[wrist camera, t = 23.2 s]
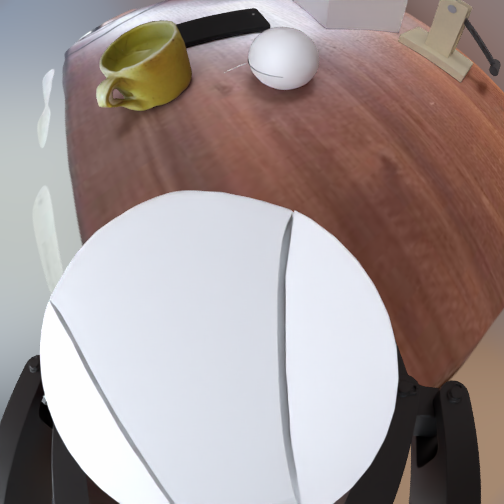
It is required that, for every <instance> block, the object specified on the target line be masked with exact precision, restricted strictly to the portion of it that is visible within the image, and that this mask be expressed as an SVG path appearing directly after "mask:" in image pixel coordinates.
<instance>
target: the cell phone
mask: <svg viewBox="0 0 504 504" xmlns="http://www.w3.org/2000/svg"><path fill="white" fill-rule="evenodd" d="M176 26H177V28H178V30H179V32H180V34H181V36H182V39H183V40H184V43H185V46H186V47H187V46H191V45H195V44H198V43H202V42H206V41H210V40H215V39H219V38H224V37H229V36H234V35H239V34H245V33H251V32H257V31H265V30H268V29H270V24H269V23H268V21H267V20H266V19H265V18H264V17H263V16H262V15H261V13H260V12H259V11H258V10H257V9H255V8H252V9H244V10H238V11H232V12H227V13H222V14H217V15H212V16H208V17H203V18H199V19H195V20H191V21H188V22H184V23H180V24H177V25H176Z"/></svg>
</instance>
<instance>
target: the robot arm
mask: <svg viewBox="0 0 504 504" xmlns="http://www.w3.org/2000/svg"><path fill="white" fill-rule="evenodd" d="M395 342H396V341H395ZM396 344H397V343H396ZM396 346H397V345H396ZM397 358H398V376H399V379H398V388H397V397H396V404H395V410H394V413H393V416H392V420H391V423H390V426H389V429H388V432H387V435H386V437H385V439H384V441H383V443H382V445H381V447H380V449H379V451H378V453H377V454H376V456H375V458H374V460H373V461H372V463H371V465H370V466H369V467H368V469H367V470H366V471H365V472H364V474H363V475H362V476H361V477H360V479H359V480H358V481H357V482H356V483H355V485H354V486H353V487H352V488H351V489H350V490H349V491H348V492H346V493H345V494H344V495H343V496H342V497H341V498H339V499H338V500H337V501H336V502H335V503H333V504H393V502H394V499H395V496H396V494H397V491H398V488H399V484H400V482H401V478H402V475H403V471H404V468H405V465H406V461H407V458H408V453H409V449H410V445H411V481H410V482H411V483H410V497H409V504H481V479H480V463H479V452H478V443H477V436H476V429H475V423H474V417H473V412H472V407H471V402H470V397H469V393H468V391H467V388H466V387H465V386H464V385H463V384H462V383H460V382H458V381H448V382H446V383H444V384H443V385H442V386H441V388H432V387H425V386H421V385H419V384H418V382H417V381H416V380H415V379H414V378H413V377H411V376H409V375H408V373H407V371H406V368H405V365H404V363H403V360H402V357H401V354H400V351H399V349H398V346H397ZM43 396H44V397H45V393H44V388H43V384H42V376H41V365H40V355H36V356H34V357H32V358H31V359H29V361H28V362H27V363H26V365H25V367H24V369H23V371H22V373H21V375H20V377H19V380H18V381H17V384H16V386H15V388H14V390H13V393H12V395H11V397H10V400H9V402H8V405H7V407H6V410H5V412H4V415H3V417H2V420H1V423H0V504H52V497H53V502H54V504H120V503H118V502H117V501H116V500H114V499H113V498H112V497H110V496H109V495H108V494H107V493H105V492H104V491H103V490H102V489H101V488H100V487H99V486H98V485H97V484H96V483H95V482H94V481H93V480H92V479H91V478H90V477H89V476H88V475H87V474H86V473H85V472H84V471H83V469H82V468H81V467H80V466H79V464H78V463H77V462H76V460H75V459H74V457H73V456H72V455H71V453H70V452H69V450H68V449H67V447H66V445H65V443H64V442H63V440H62V438H61V436H60V434H59V432H58V430H57V429H56V426H55V424H54V421H53V419H52V416H51V413H50V411H49V408H48V405H47V401H46V403H45V404H43V402H42V399H43ZM45 398H46V397H45Z"/></svg>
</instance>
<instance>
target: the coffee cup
mask: <svg viewBox="0 0 504 504" xmlns="http://www.w3.org/2000/svg"><path fill="white" fill-rule="evenodd" d="M40 365H41V376H42V384H43V388H44V393H45V397H46V401H47V405H48V408H49V411H50V413H51V416H52V419H53V421H54V424H55V426H56V429H57V430H58V432H59V434H60V436H61V438H62V440H63V442H64V443H65V445H66V447H67V449H68V450H69V452H70V453H71V455H72V456H73V457H74V459H75V460H76V462H77V463H78V464H79V466H80V467H81V468H82V469H83V471H84V472H85V473H86V474H87V475H88V476H89V477H90V478H91V479H92V480H93V481H94V482H95V483H96V484H97V485H98V486H99V487H100V488H101V489H102V490H103V491H104V492H105V493H107V494H108V495H109V496H110V497H112V498H113V499H114V500H116V501H117V502H118V503H120V504H333V503H335V502H336V501H337V500H338V499H339V498H341V497H342V496H343V495H344V494H345V493H346V492H348V491H349V490H350V489H351V488H352V487H353V486H354V485H355V483H356V482H357V481H358V480H359V479H360V477H361V476H362V475H363V474H364V472H365V471H366V470H367V469H368V467H369V466H370V465H371V463H372V461H373V460H374V458H375V456H376V454H377V453H378V451H379V449H380V447H381V445H382V443H383V441H384V439H385V437H386V435H387V432H388V429H389V426H390V423H391V420H392V416H393V413H394V410H395V404H396V397H397V388H398V379H399V376H398V358H397V346H396V342H395V338H394V334H393V330H392V326H391V322H390V318H389V315H388V313H387V311H386V308H385V306H384V304H383V302H382V299H381V297H380V295H379V293H378V291H377V289H376V287H375V285H374V284H373V282H372V281H371V279H370V278H369V276H368V275H367V273H366V272H365V270H364V269H363V267H362V266H361V265H360V263H359V262H358V260H357V259H356V258H355V257H354V256H353V255H352V254H351V253H350V252H349V251H348V250H347V249H346V248H345V247H344V246H343V245H342V244H341V242H340V241H339V240H338V239H337V238H336V237H335V236H333V235H332V234H331V233H329V232H328V231H327V230H325V229H324V228H323V227H321V226H320V225H318V224H317V223H316V222H314V221H313V220H312V219H310V218H309V217H307V216H305V215H303V214H301V213H299V212H297V211H295V210H294V212H292V211H291V210H290V209H287V208H284V207H280V206H277V205H273V204H270V203H267V202H264V201H260V200H256V199H252V198H248V197H243V196H238V195H233V194H228V193H223V192H206V191H177V192H171V193H168V194H164V195H161V196H158V197H155V198H153V199H150V200H148V201H145V202H143V203H141V204H139V205H137V206H135V207H133V208H131V209H130V210H128V211H126V212H125V213H123V214H122V215H120V216H118V217H116V218H115V219H113V220H112V221H111V222H109V223H108V224H106V225H105V226H104V227H102V228H101V229H99V230H98V231H97V232H95V233H94V235H93V236H92V237H91V238H90V239H89V240H88V241H87V242H86V243H85V244H84V245H83V246H82V247H81V248H80V249H79V250H78V252H77V253H76V255H75V256H74V258H73V259H72V261H71V262H70V264H69V265H68V267H67V268H66V270H65V271H64V273H63V275H62V276H61V278H60V280H59V282H58V284H57V285H56V287H55V289H54V291H53V293H52V295H51V297H50V300H49V301H48V305H47V308H46V311H45V316H44V320H43V326H42V331H41V344H40Z"/></svg>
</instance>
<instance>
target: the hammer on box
mask: <svg viewBox="0 0 504 504" xmlns="http://www.w3.org/2000/svg"><path fill="white" fill-rule="evenodd" d="M293 1H294V2H296V3H297V4H298V5H299V6H300V7H302V8H303V9H304V10H305V11H307V12H308V13H309V14H310V15H311V16H312V17H314V18H315V19H316V20H317V21H318V22H319V23H320V24H321V25H323V26H324V27H325V28H326V29H361V30H376V31H386V32H395V33H399V30H400V27H401V23H402V20H403V16H404V13H405V9H406V5H407V1H408V0H293Z"/></svg>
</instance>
